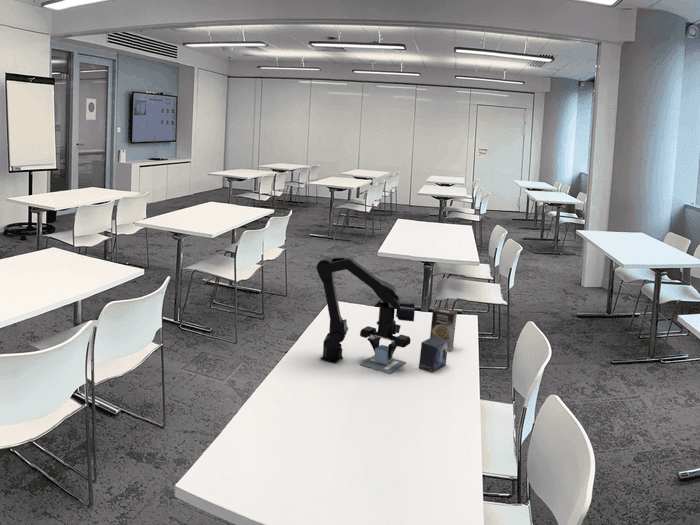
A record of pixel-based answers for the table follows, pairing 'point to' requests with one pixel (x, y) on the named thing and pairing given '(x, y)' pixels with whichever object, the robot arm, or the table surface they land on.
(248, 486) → the table surface
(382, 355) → the blue cube
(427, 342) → the small box
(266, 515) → the table surface
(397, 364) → the letter card
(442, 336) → the coffee box
